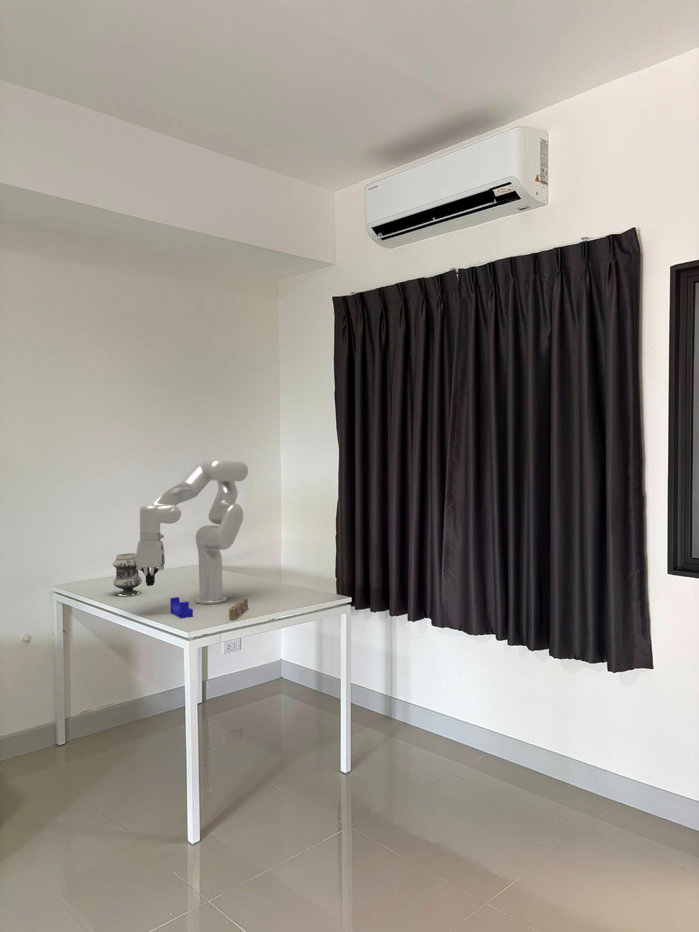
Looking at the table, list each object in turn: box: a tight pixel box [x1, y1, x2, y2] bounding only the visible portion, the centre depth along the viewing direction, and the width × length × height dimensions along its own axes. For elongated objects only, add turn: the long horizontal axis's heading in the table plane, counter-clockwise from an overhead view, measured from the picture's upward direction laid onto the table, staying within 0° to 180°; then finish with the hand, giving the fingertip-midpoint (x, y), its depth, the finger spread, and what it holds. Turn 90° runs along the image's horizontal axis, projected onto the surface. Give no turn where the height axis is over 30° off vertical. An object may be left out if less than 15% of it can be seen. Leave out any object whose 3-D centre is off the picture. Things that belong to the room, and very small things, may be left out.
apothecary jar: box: [112, 552, 143, 595], centre depth 311 cm, size 12×12×18 cm
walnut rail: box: [228, 597, 249, 621], centre depth 266 cm, size 20×2×4 cm, turn 174°
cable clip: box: [169, 596, 194, 619], centre depth 267 cm, size 12×4×6 cm, turn 33°
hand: (150, 585), depth 268 cm, fingers closed
